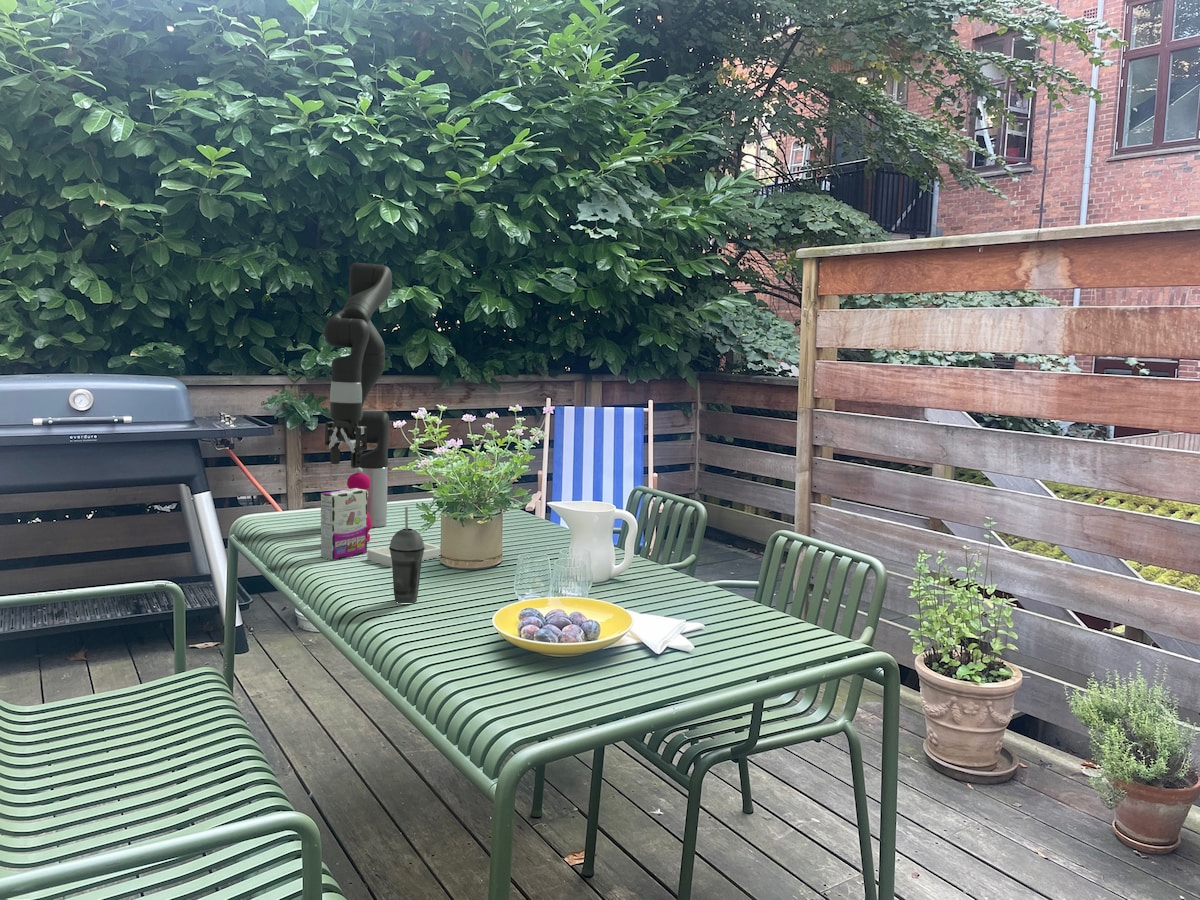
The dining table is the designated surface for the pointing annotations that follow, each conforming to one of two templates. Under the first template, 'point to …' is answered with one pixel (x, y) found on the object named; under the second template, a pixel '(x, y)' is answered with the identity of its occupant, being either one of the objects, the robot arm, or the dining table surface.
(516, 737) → the dining table surface
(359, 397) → the robot arm
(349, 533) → the candy bar box
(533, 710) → the dining table surface
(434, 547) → the tray
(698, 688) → the dining table surface
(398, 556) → the beverage cup
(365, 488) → the pepper mill
